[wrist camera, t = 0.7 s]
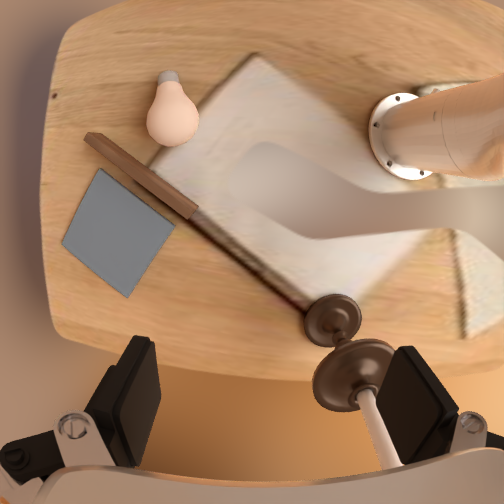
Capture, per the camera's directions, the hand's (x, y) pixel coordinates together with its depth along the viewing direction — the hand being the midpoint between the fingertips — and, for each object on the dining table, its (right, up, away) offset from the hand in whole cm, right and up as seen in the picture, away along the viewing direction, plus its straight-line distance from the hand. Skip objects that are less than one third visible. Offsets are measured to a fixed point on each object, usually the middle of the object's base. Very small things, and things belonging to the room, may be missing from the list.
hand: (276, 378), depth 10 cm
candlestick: (+12, -6, +34) cm, 37 cm away
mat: (-21, +7, +30) cm, 37 cm away
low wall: (-15, +16, +27) cm, 35 cm away
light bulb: (-11, +24, +25) cm, 36 cm away
